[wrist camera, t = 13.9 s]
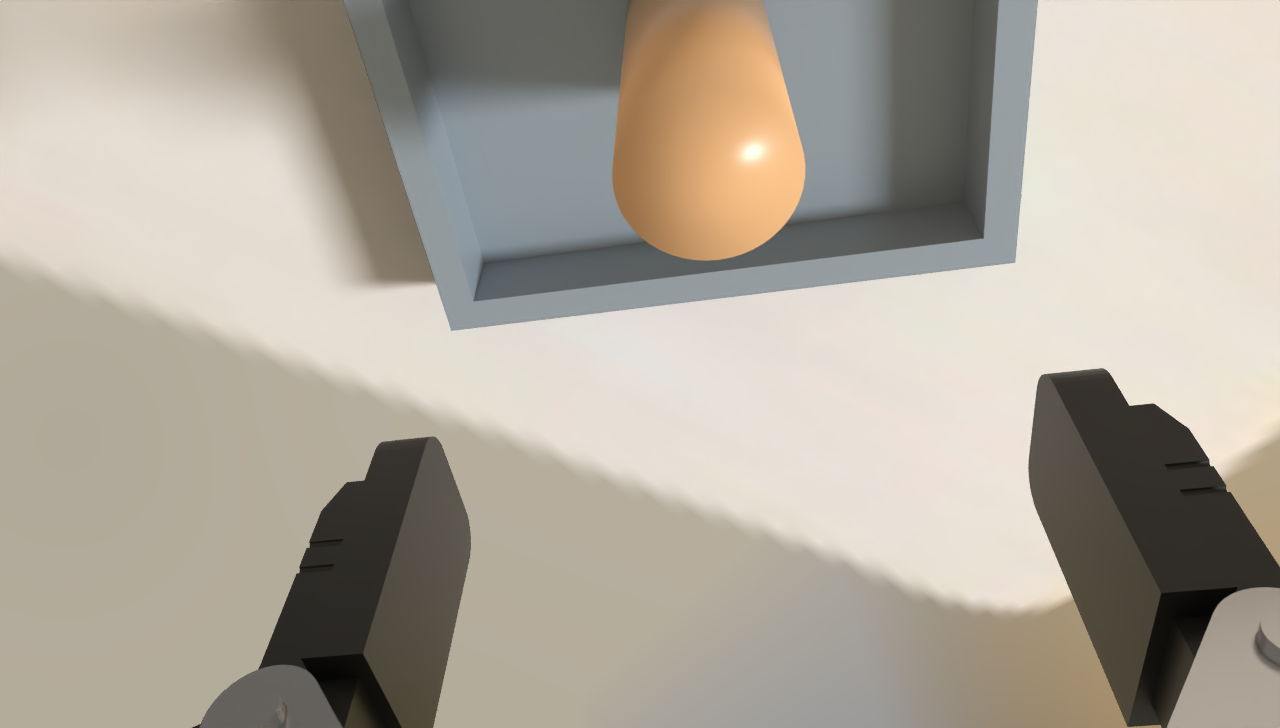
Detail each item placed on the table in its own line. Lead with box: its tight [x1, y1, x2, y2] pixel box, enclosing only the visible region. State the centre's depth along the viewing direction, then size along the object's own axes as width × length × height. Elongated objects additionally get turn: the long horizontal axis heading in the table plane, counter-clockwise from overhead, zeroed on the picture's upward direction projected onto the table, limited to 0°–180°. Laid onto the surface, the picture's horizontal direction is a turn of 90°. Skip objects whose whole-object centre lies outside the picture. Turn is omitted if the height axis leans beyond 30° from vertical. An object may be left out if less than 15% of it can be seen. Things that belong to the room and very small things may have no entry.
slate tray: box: [343, 0, 1038, 331], centre depth 27 cm, size 18×16×3 cm
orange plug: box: [612, 0, 805, 261], centre depth 24 cm, size 4×4×10 cm
